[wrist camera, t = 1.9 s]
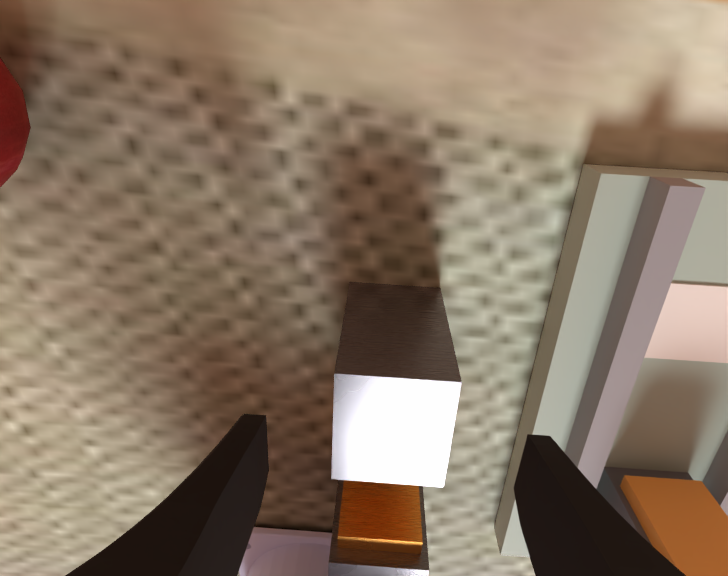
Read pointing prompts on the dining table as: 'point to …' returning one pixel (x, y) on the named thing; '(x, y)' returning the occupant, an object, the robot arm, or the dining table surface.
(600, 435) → the rail
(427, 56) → the dining table surface
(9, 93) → the onion
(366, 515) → the block
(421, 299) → the brushed grey cube
